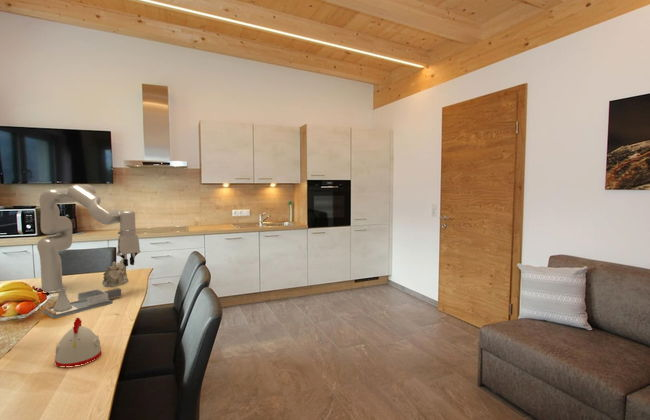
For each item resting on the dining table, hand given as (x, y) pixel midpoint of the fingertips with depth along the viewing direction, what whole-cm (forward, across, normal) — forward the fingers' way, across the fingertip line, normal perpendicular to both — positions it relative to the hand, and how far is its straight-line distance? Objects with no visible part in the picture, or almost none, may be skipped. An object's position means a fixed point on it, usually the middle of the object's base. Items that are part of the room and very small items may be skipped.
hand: (129, 265), depth 197 cm
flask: (+16, -32, 0) cm, 36 cm away
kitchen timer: (+17, -46, -56) cm, 75 cm away
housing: (+16, -14, 0) cm, 21 cm away
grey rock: (+18, +5, +30) cm, 35 cm away
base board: (+17, -25, 0) cm, 30 cm away
